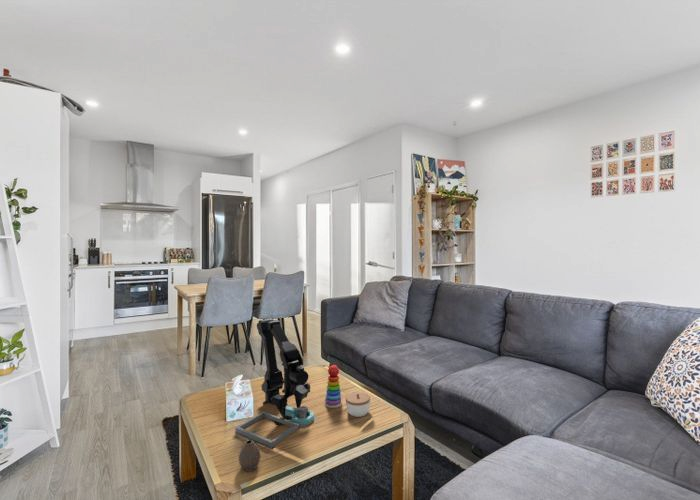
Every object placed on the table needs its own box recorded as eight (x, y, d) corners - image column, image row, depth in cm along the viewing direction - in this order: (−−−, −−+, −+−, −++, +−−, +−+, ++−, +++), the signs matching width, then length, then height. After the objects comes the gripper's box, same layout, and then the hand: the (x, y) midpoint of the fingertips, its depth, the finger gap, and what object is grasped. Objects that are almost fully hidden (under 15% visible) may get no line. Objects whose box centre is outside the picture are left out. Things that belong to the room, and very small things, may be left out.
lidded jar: (340, 415, 150) (340, 394, 150) (357, 406, 158) (356, 386, 157) (359, 423, 142) (358, 401, 142) (375, 414, 150) (375, 393, 150)
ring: (279, 418, 146) (279, 411, 146) (294, 409, 154) (293, 402, 153) (304, 427, 139) (303, 419, 139) (317, 417, 146) (317, 410, 146)
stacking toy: (339, 410, 154) (339, 369, 153) (322, 409, 155) (322, 368, 155) (343, 402, 161) (343, 363, 161) (327, 401, 163) (326, 362, 163)
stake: (285, 423, 143) (285, 410, 143) (301, 413, 152) (301, 401, 152) (304, 430, 138) (304, 417, 138) (319, 419, 146) (319, 406, 146)
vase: (241, 461, 119) (241, 436, 119) (261, 460, 120) (261, 435, 119) (236, 474, 112) (236, 448, 112) (258, 473, 113) (257, 446, 113)
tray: (235, 433, 136) (235, 427, 136) (263, 417, 149) (263, 411, 149) (271, 449, 126) (271, 442, 126) (298, 430, 138) (298, 424, 138)
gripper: (289, 389, 136) (290, 428, 136) (318, 374, 152) (319, 409, 152) (269, 383, 142) (270, 421, 142) (299, 369, 158) (300, 403, 158)
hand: (291, 413), depth 148 cm, fingers open, 9 cm apart
